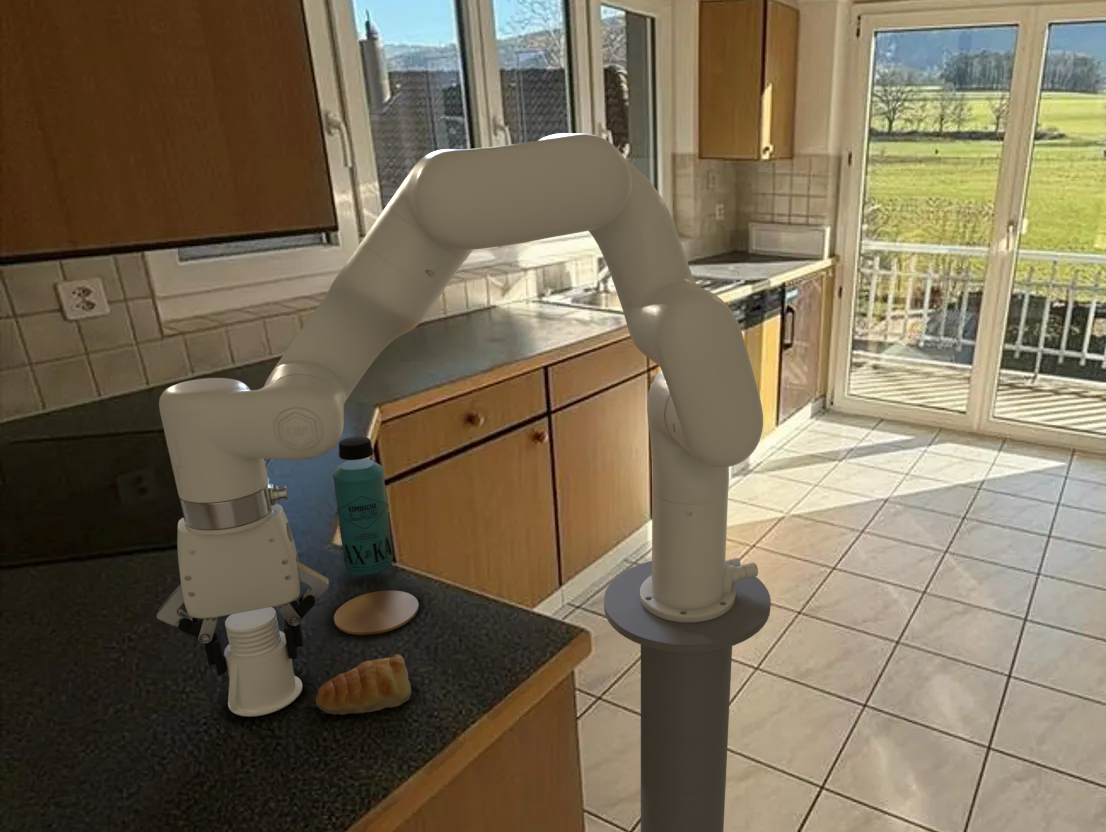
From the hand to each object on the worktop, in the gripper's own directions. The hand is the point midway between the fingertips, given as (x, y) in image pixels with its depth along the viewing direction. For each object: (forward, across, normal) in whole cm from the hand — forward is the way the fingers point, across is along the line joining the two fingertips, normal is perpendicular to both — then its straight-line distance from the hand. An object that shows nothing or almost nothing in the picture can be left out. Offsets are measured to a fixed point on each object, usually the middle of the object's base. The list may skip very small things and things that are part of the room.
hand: (258, 658), depth 83 cm
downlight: (+5, 0, 0) cm, 5 cm away
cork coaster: (+5, -12, -13) cm, 18 cm away
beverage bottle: (+5, -12, -24) cm, 27 cm away
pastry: (+5, -10, +4) cm, 12 cm away
